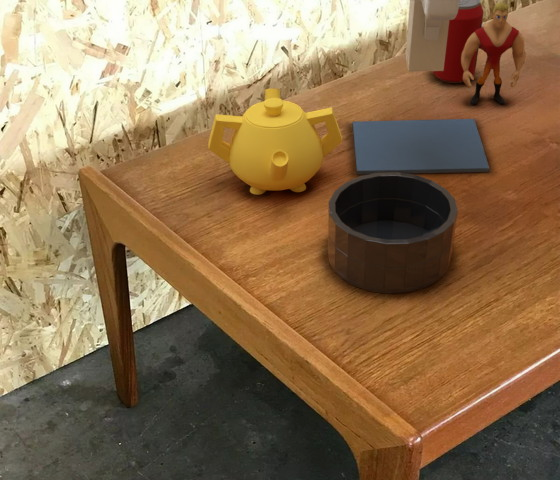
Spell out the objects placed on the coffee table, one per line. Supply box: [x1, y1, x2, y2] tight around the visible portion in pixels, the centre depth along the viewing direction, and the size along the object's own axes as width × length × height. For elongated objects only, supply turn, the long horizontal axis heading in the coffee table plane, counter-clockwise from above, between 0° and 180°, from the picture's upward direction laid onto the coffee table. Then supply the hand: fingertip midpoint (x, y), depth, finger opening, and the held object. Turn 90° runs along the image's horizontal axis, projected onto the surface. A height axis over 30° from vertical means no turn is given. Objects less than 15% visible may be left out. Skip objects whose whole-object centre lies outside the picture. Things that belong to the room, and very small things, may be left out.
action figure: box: [461, 1, 526, 106], centre depth 117 cm, size 10×4×15 cm, turn 87°
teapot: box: [207, 87, 343, 196], centre depth 105 cm, size 20×18×11 cm
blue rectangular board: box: [352, 118, 490, 175], centre depth 113 cm, size 18×14×1 cm
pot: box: [327, 172, 459, 295], centre depth 93 cm, size 15×15×7 cm
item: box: [404, 0, 449, 73], centre depth 101 cm, size 4×4×9 cm
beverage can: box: [432, 0, 485, 84], centre depth 125 cm, size 7×7×12 cm
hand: (427, 29), depth 101 cm, fingers closed on item, 4 cm apart
